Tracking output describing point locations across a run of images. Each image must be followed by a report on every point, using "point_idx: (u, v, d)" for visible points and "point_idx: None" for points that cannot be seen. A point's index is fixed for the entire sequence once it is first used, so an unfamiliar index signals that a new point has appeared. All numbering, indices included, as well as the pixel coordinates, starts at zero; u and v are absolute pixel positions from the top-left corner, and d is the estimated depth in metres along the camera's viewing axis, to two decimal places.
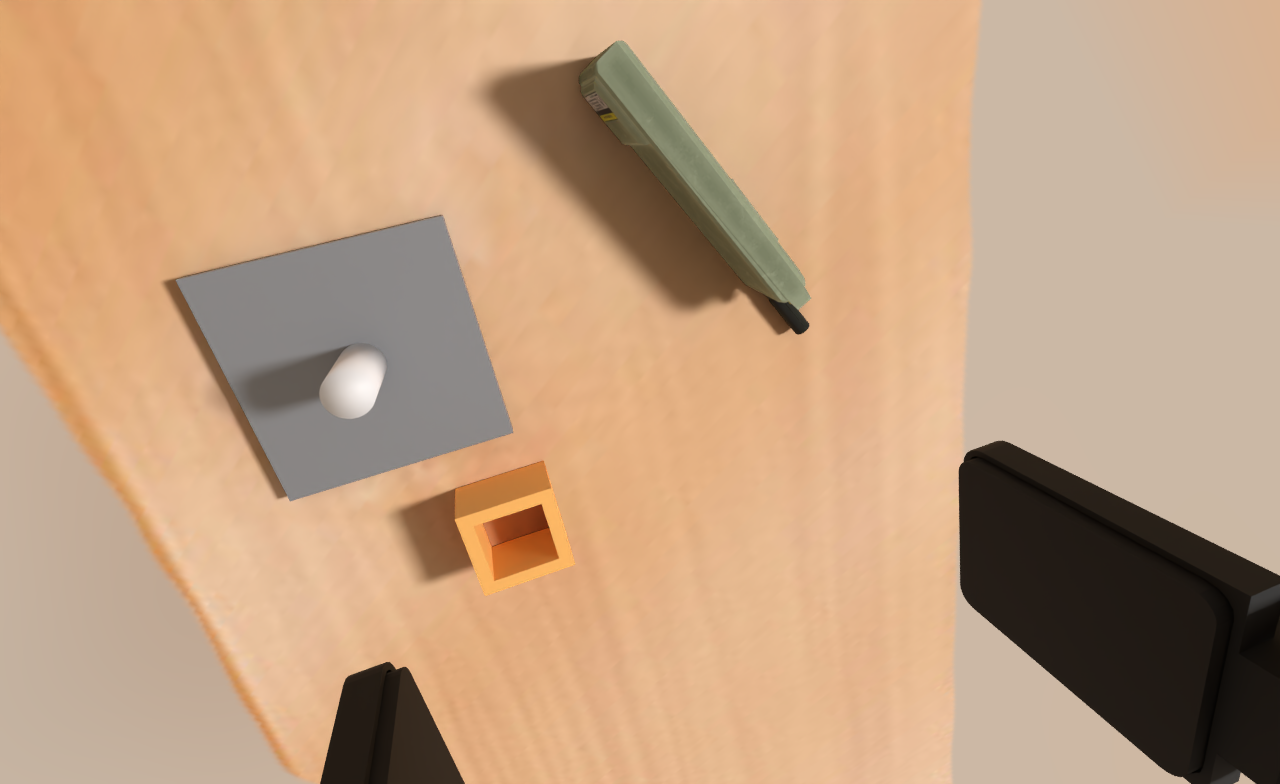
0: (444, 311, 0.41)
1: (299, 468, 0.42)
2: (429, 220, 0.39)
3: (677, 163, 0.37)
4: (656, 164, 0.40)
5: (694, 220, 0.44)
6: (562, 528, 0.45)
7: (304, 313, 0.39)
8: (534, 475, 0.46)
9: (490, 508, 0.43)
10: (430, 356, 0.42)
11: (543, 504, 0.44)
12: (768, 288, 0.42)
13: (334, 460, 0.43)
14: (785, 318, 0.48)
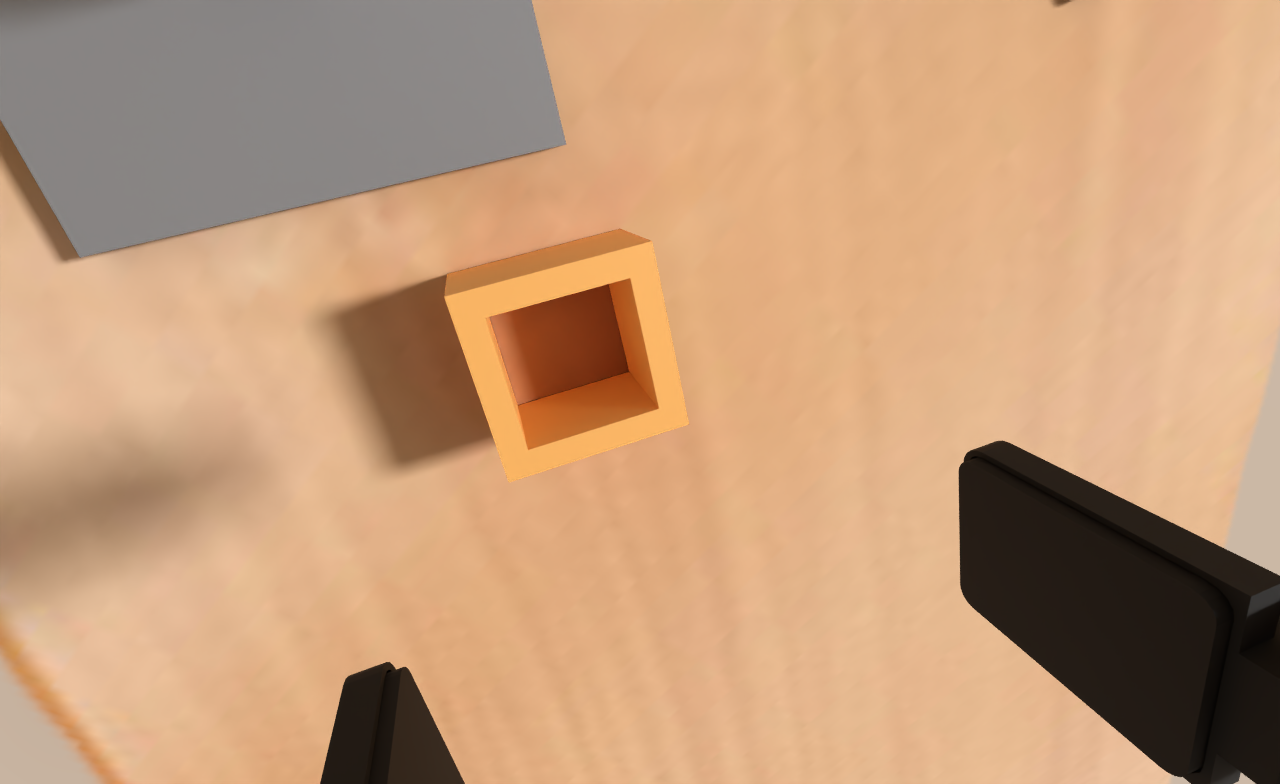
0: None
1: (93, 176, 0.19)
2: None
3: None
4: None
5: None
6: (669, 340, 0.22)
7: None
8: (608, 239, 0.23)
9: (522, 277, 0.20)
10: None
11: (634, 279, 0.21)
12: None
13: (177, 164, 0.19)
14: None
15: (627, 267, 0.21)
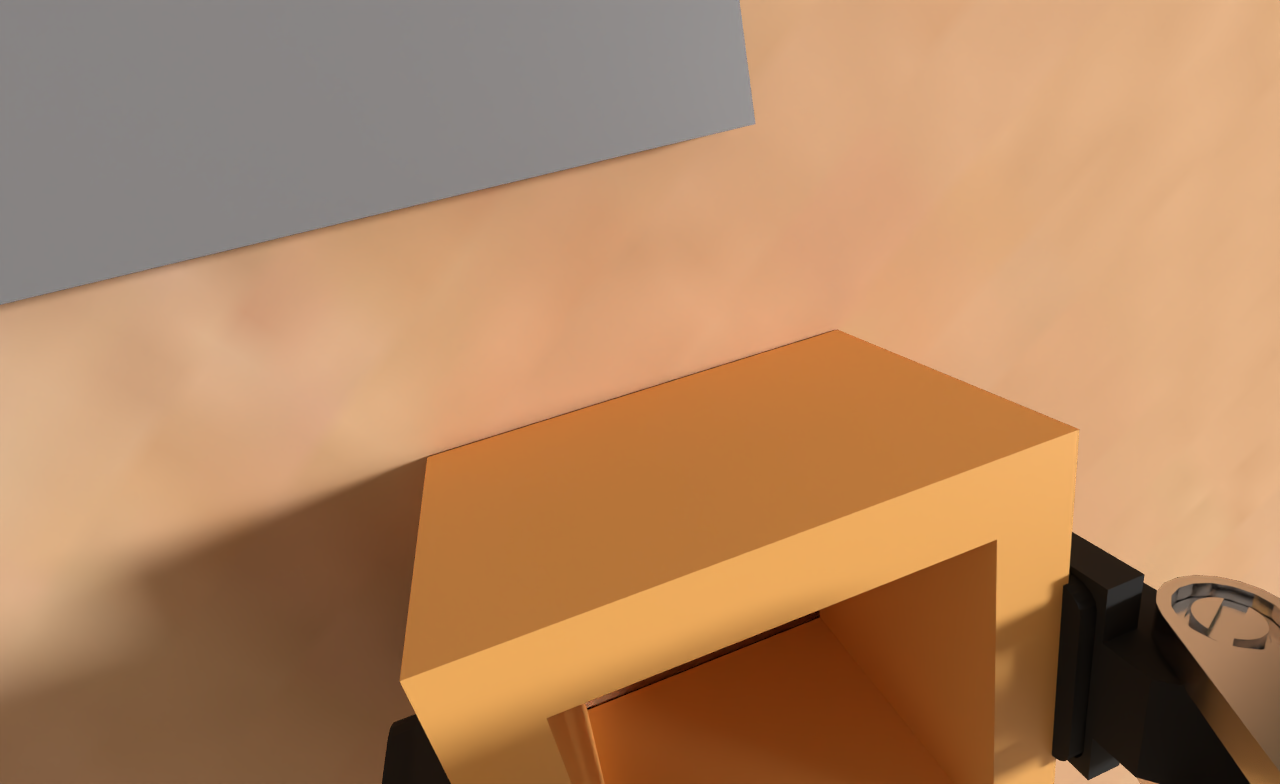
0: None
1: None
2: None
3: None
4: None
5: None
6: (1054, 680, 0.08)
7: None
8: (852, 379, 0.09)
9: (679, 581, 0.06)
10: None
11: (1006, 543, 0.07)
12: None
13: None
14: None
15: (996, 511, 0.06)
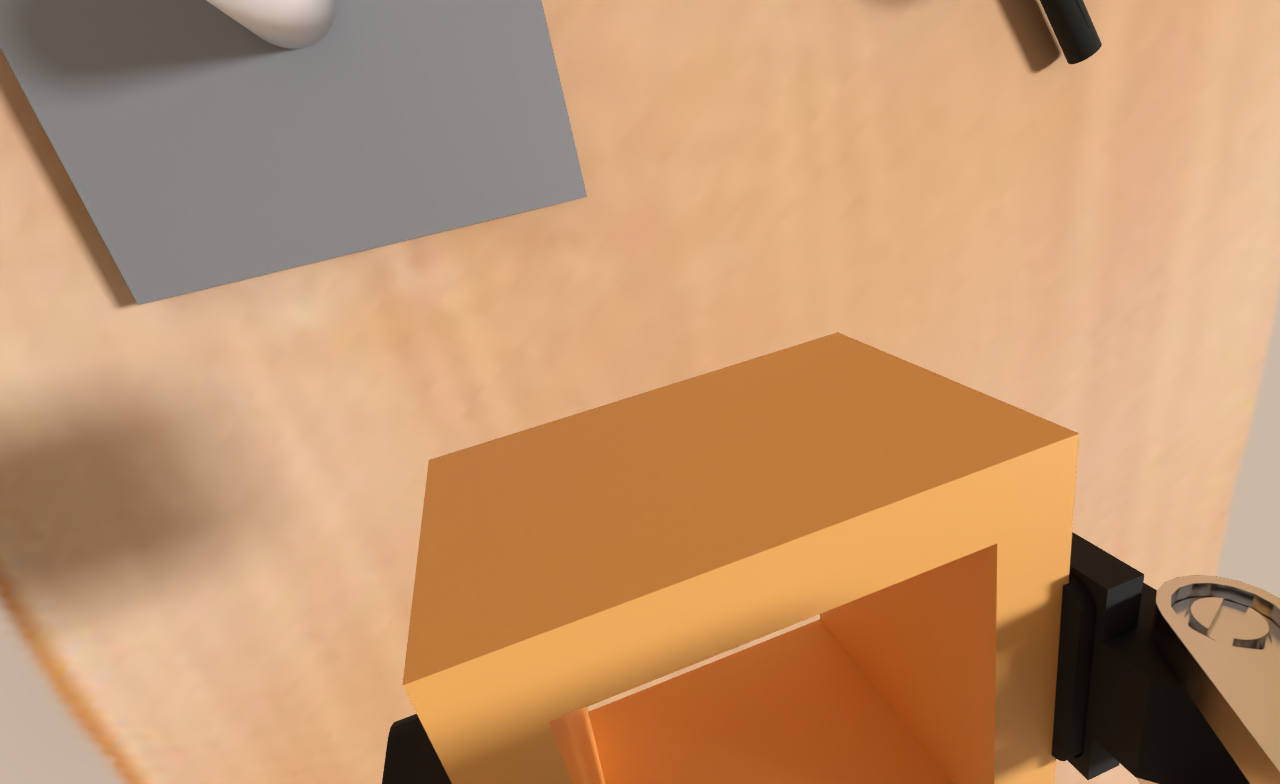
0: None
1: (153, 231, 0.20)
2: None
3: None
4: None
5: None
6: (1054, 682, 0.08)
7: None
8: (852, 382, 0.09)
9: (681, 585, 0.06)
10: None
11: (1006, 546, 0.07)
12: None
13: (229, 219, 0.21)
14: (1062, 26, 0.26)
15: (996, 515, 0.06)
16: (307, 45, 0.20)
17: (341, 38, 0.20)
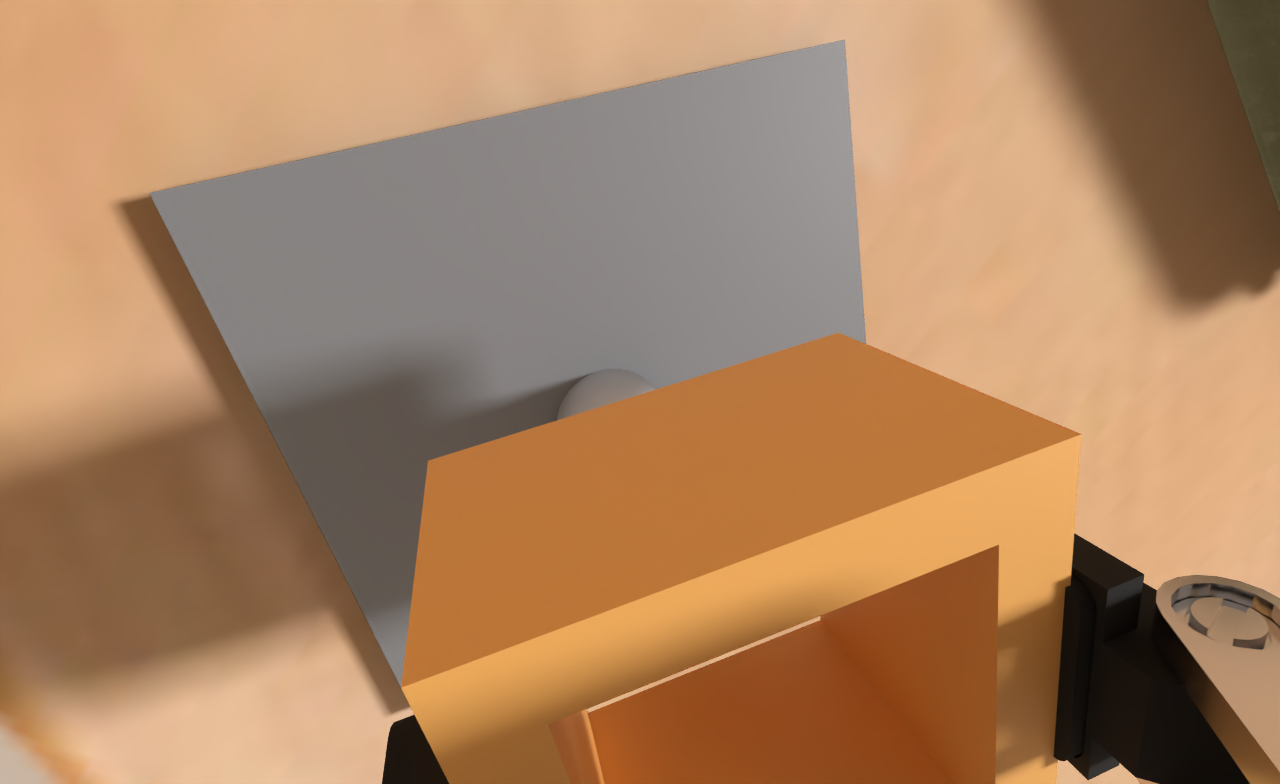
0: (804, 290, 0.17)
1: None
2: (814, 50, 0.15)
3: None
4: None
5: (1270, 121, 0.20)
6: (1056, 684, 0.08)
7: (490, 293, 0.15)
8: (853, 382, 0.09)
9: (681, 587, 0.06)
10: None
11: (1008, 547, 0.07)
12: None
13: None
14: None
15: (998, 516, 0.06)
16: None
17: None
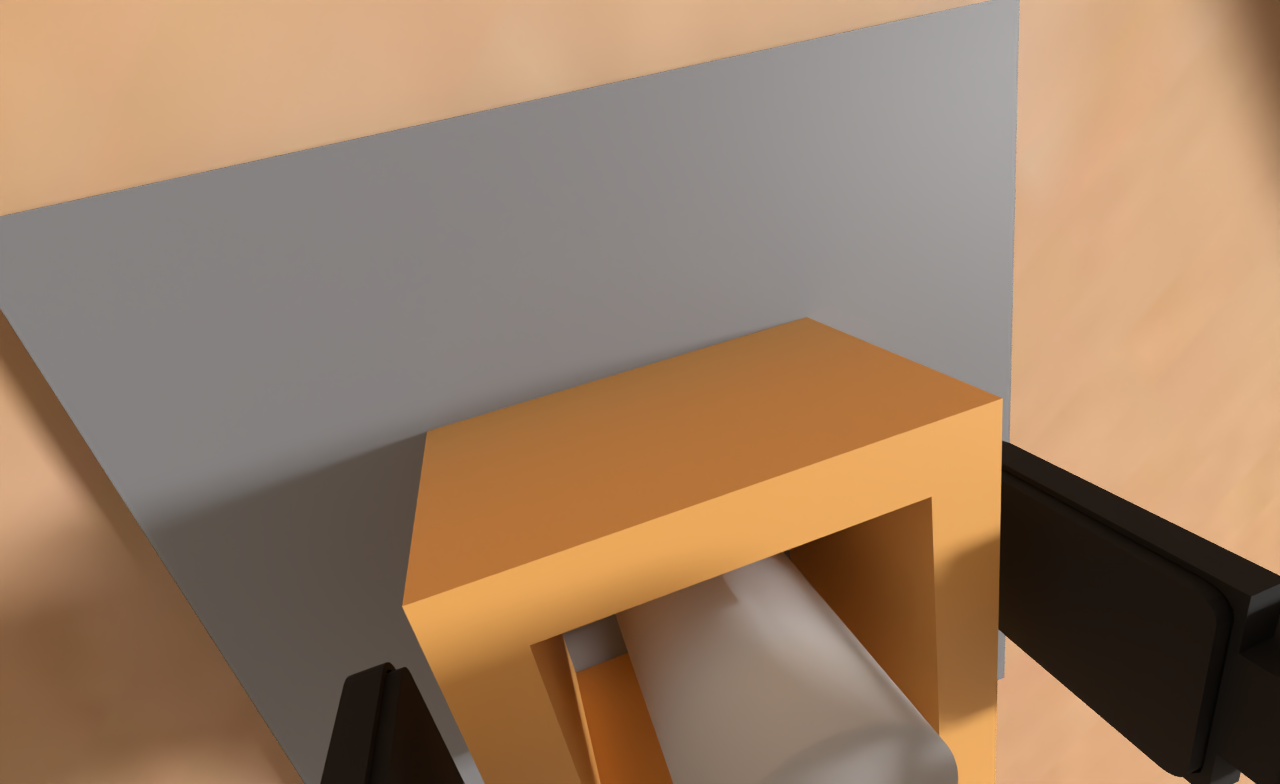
0: (936, 349, 0.12)
1: None
2: (977, 10, 0.10)
3: None
4: None
5: None
6: (991, 629, 0.09)
7: (503, 367, 0.10)
8: (814, 359, 0.09)
9: (645, 526, 0.06)
10: None
11: (940, 500, 0.07)
12: None
13: None
14: None
15: (929, 471, 0.07)
16: None
17: None
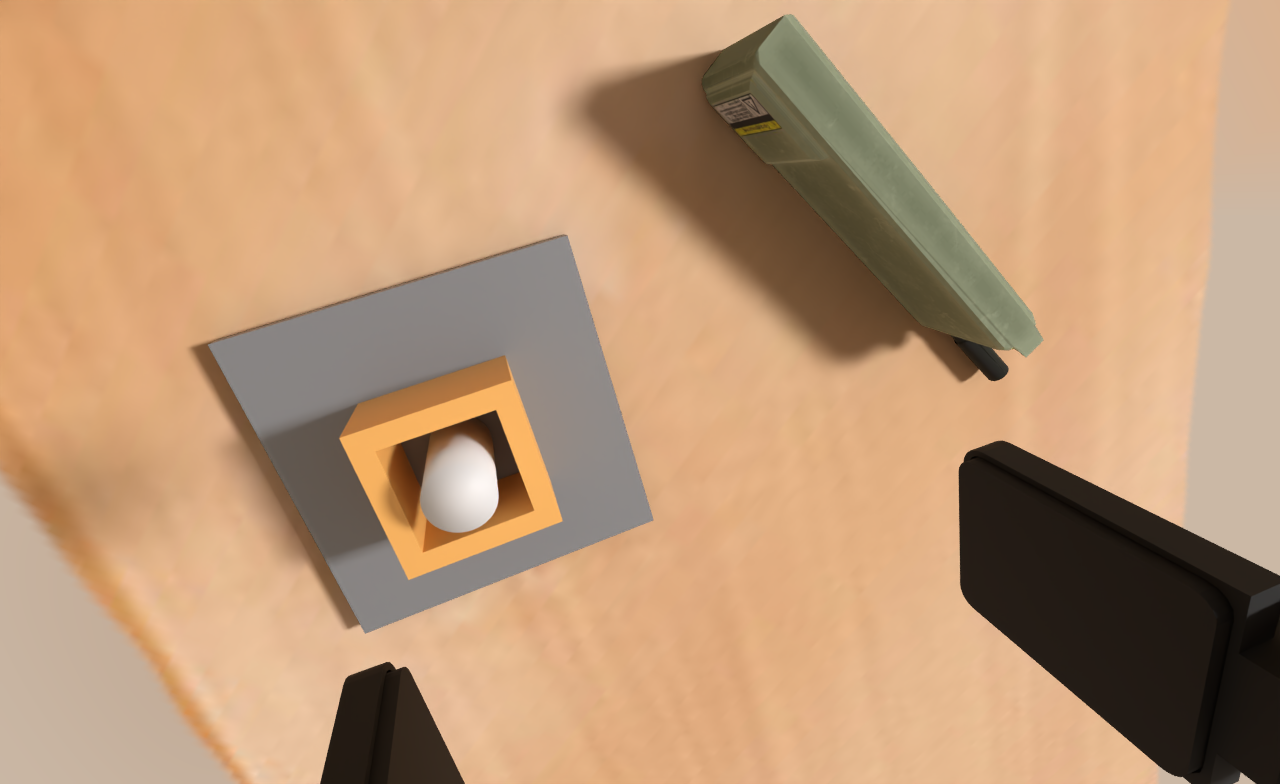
0: (568, 365, 0.30)
1: (377, 589, 0.31)
2: (550, 242, 0.28)
3: (869, 180, 0.26)
4: (821, 184, 0.29)
5: (859, 251, 0.33)
6: (536, 455, 0.26)
7: (384, 379, 0.28)
8: (486, 371, 0.27)
9: (403, 417, 0.24)
10: (549, 427, 0.31)
11: (499, 410, 0.25)
12: (986, 334, 0.30)
13: (423, 574, 0.31)
14: (978, 362, 0.37)
15: (492, 402, 0.25)
16: None
17: (495, 460, 0.31)
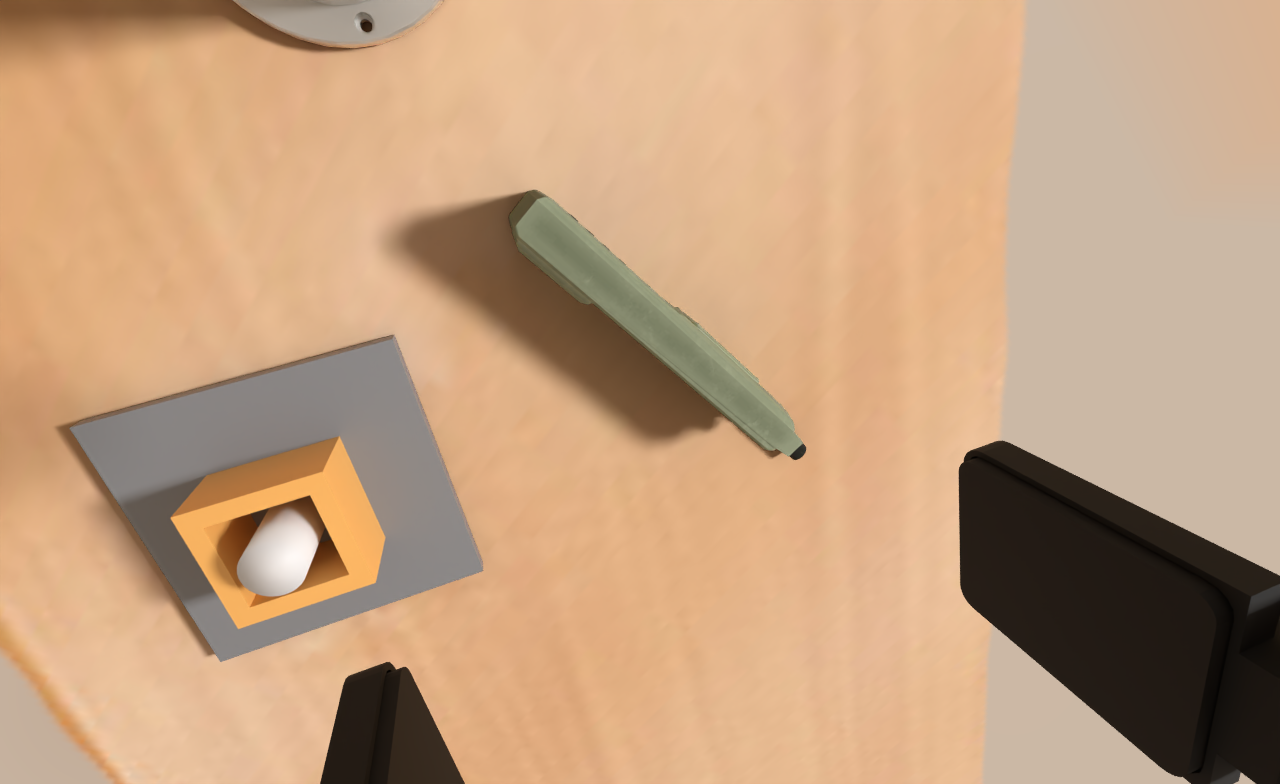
0: (398, 444, 0.35)
1: (230, 626, 0.36)
2: (377, 345, 0.33)
3: (627, 322, 0.31)
4: None
5: None
6: (348, 531, 0.31)
7: (229, 455, 0.33)
8: (314, 455, 0.32)
9: (227, 501, 0.29)
10: (383, 494, 0.36)
11: (313, 495, 0.30)
12: (751, 437, 0.36)
13: None
14: None
15: (306, 488, 0.30)
16: None
17: None
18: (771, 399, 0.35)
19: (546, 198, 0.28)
